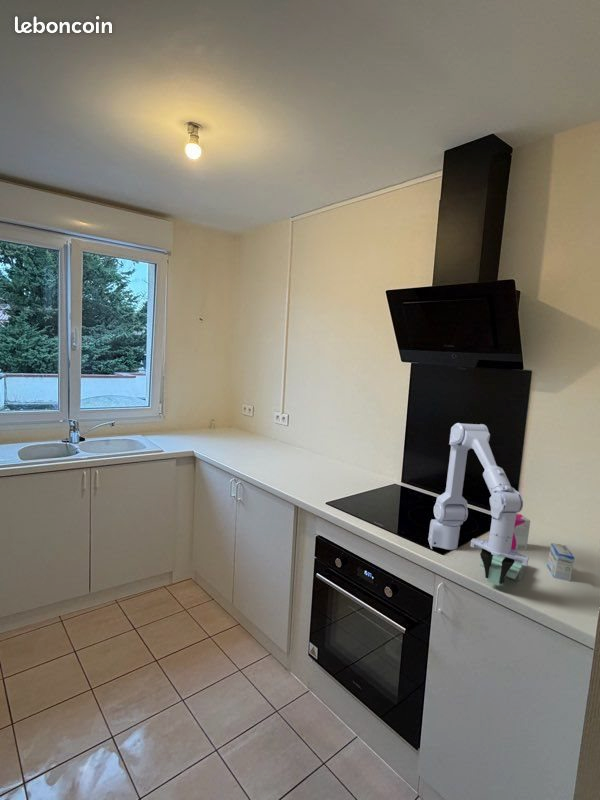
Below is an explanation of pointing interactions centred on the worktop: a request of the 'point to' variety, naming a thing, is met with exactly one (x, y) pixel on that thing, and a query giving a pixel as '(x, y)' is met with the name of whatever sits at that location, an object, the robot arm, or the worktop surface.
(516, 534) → the supplement box
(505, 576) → the tub
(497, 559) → the lid
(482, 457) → the robot arm
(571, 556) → the medicine box
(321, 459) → the worktop surface
